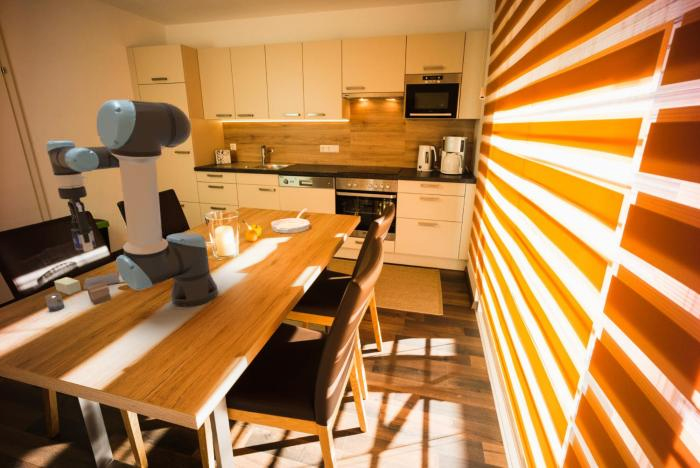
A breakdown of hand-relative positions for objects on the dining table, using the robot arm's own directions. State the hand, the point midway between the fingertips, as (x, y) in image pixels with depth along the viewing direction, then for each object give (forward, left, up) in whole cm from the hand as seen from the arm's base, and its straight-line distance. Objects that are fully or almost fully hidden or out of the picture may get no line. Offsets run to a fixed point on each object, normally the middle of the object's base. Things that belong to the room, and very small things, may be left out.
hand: (86, 248), depth 124 cm
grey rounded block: (-14, +10, -15) cm, 23 cm away
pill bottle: (0, 0, -1) cm, 1 cm away
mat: (+3, -2, -15) cm, 15 cm away
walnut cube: (-15, -2, -15) cm, 21 cm away
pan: (+35, -100, -16) cm, 107 cm away
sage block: (+1, +8, -15) cm, 17 cm away
